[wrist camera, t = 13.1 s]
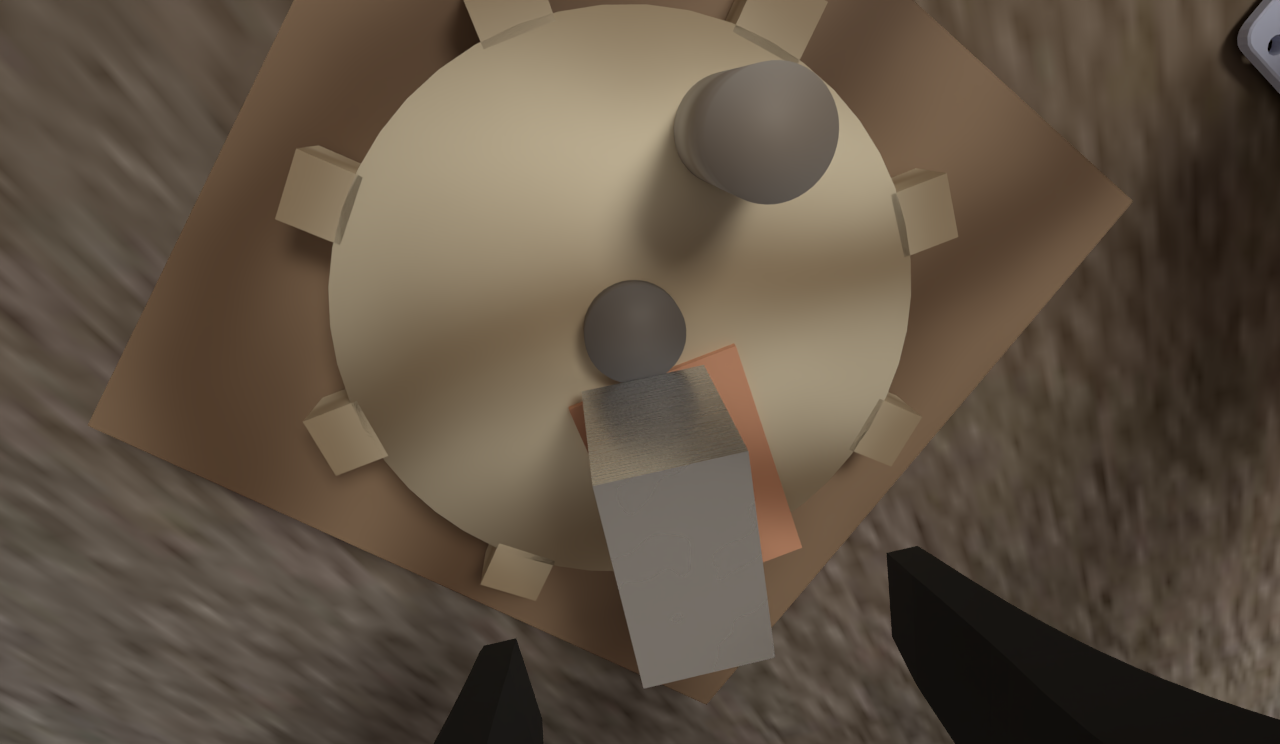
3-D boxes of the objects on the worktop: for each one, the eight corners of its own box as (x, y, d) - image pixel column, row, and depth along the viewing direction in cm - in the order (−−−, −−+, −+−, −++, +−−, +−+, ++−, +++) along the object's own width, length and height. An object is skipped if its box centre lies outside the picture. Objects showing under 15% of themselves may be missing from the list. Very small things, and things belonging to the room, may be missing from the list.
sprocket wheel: (973, 457, 21) (1092, 556, 16) (470, 647, 21) (447, 796, 17) (849, -165, 15) (980, -289, 10) (152, 112, 15) (-23, 112, 11)
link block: (581, 391, 17) (592, 486, 13) (703, 364, 17) (748, 451, 13) (624, 567, 19) (643, 688, 15) (730, 543, 19) (775, 657, 15)
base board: (1093, 195, 20) (1150, 203, 18) (697, 671, 25) (709, 719, 23) (490, -345, 15) (481, -415, 13) (121, 402, 19) (72, 435, 17)
